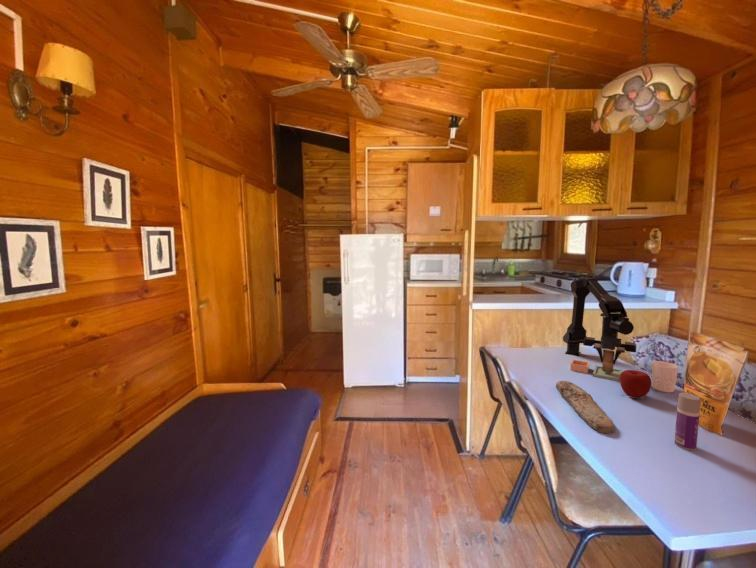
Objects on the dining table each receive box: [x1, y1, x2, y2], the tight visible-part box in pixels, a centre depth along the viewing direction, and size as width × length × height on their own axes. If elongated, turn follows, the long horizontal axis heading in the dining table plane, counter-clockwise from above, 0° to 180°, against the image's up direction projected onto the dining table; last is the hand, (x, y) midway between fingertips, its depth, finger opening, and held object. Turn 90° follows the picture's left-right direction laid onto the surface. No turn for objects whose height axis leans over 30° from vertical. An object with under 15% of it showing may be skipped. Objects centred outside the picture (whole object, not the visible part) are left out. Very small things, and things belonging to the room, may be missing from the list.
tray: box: [592, 365, 623, 382], centre depth 147 cm, size 12×10×2 cm
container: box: [673, 392, 700, 451], centre depth 96 cm, size 5×5×15 cm
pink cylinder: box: [651, 360, 679, 393], centre depth 132 cm, size 8×8×10 cm
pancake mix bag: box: [683, 331, 749, 436], centre depth 107 cm, size 7×19×28 cm, turn 172°
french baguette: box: [555, 380, 615, 435], centre depth 120 cm, size 35×5×10 cm
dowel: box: [601, 349, 615, 373], centre depth 147 cm, size 4×4×9 cm
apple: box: [619, 369, 652, 399], centre depth 127 cm, size 10×10×10 cm
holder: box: [569, 359, 591, 374], centre depth 154 cm, size 7×7×4 cm
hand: (608, 363), depth 147 cm, fingers closed on dowel, 4 cm apart
